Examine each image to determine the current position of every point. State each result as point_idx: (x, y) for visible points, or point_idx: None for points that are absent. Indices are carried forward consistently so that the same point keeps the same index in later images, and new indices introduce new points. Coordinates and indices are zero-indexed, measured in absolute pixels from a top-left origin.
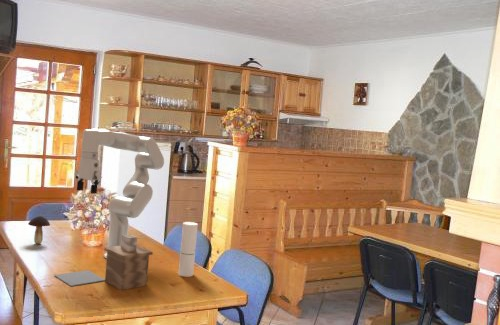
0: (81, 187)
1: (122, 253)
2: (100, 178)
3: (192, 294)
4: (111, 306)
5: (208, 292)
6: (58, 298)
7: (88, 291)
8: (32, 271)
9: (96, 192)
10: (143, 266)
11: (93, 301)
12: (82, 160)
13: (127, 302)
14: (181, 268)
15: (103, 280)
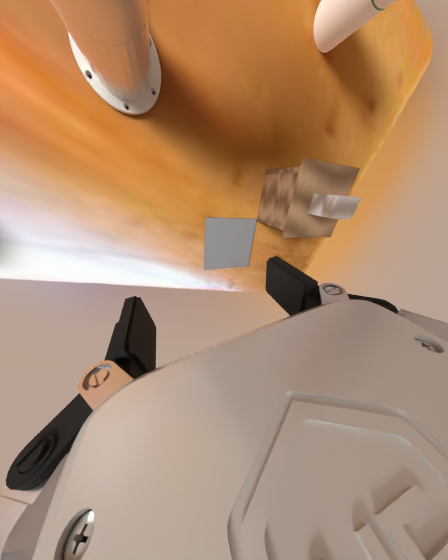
0: (143, 321)
1: (324, 230)
2: (430, 326)
3: (364, 141)
4: (309, 254)
5: (382, 106)
6: (265, 286)
7: (269, 255)
8: (171, 286)
9: (277, 259)
10: None
11: (291, 263)
12: None
13: None
14: (338, 41)
15: (255, 222)
